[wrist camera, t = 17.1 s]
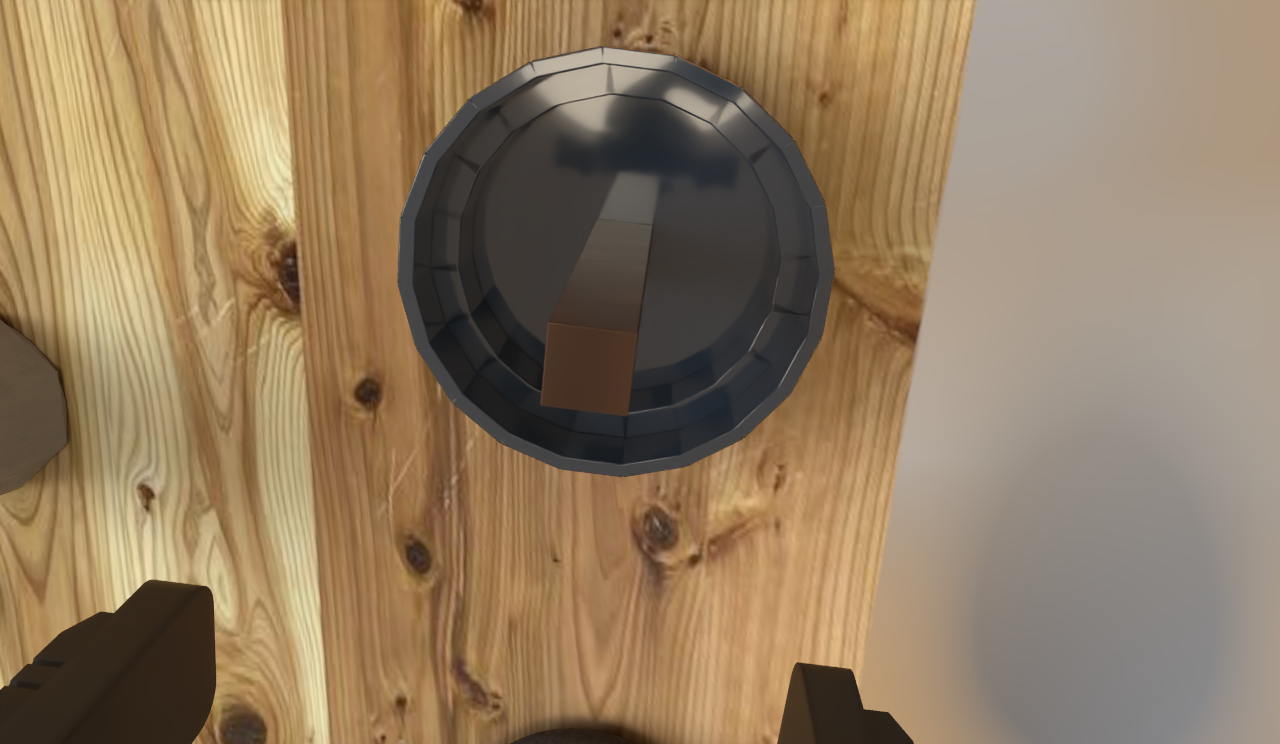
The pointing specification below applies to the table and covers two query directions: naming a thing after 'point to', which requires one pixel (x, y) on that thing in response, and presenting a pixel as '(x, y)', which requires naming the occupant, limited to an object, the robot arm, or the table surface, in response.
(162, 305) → the table surface
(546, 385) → the brown rectangular peg
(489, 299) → the bowl
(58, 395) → the coffeepot
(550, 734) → the teapot
